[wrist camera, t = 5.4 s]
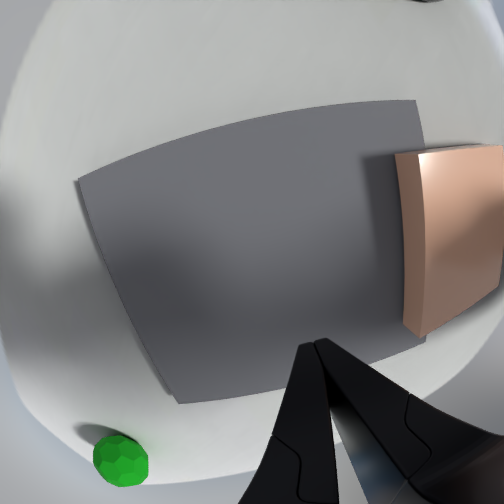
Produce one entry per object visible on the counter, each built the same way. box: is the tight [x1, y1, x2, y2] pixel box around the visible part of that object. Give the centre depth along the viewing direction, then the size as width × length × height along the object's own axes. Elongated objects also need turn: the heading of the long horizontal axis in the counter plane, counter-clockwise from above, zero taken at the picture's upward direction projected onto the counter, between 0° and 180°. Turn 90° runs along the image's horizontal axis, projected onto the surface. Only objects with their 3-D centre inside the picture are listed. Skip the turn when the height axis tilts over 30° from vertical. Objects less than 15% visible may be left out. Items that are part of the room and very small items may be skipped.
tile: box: [395, 144, 504, 338], centre depth 11 cm, size 2×9×8 cm
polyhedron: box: [93, 435, 148, 487], centre depth 16 cm, size 5×5×5 cm
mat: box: [78, 100, 426, 404], centre depth 13 cm, size 16×14×1 cm
